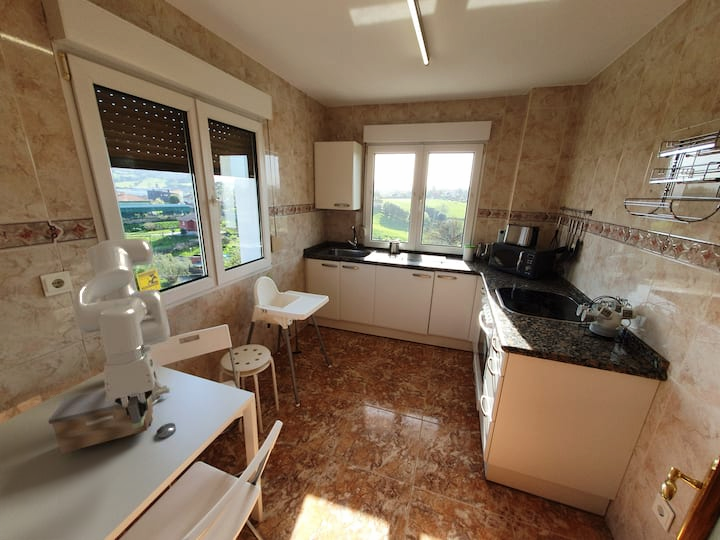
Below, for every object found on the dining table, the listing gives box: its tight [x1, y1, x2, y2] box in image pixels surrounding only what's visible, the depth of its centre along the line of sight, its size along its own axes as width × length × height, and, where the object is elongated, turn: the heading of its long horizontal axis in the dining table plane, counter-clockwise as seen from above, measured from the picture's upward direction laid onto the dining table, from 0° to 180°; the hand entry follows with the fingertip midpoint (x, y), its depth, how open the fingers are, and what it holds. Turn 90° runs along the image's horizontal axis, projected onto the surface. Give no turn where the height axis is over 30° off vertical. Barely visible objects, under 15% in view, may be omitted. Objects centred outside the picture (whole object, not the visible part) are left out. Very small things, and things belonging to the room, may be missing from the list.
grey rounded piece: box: [156, 422, 177, 440], centre depth 91 cm, size 5×5×2 cm
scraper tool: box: [127, 396, 149, 428], centre depth 77 cm, size 2×10×8 cm, turn 26°
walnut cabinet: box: [47, 389, 154, 454], centre depth 86 cm, size 21×10×15 cm, turn 116°
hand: (138, 414), depth 76 cm, fingers closed on scraper tool, 1 cm apart
